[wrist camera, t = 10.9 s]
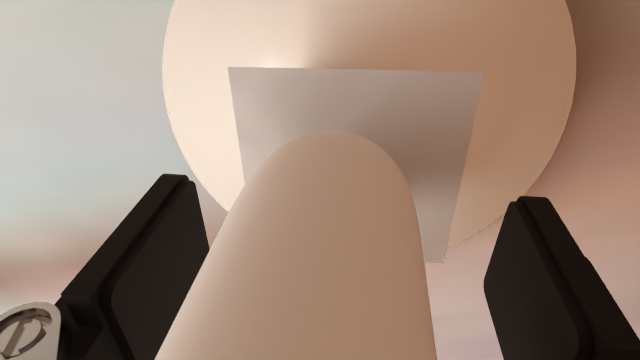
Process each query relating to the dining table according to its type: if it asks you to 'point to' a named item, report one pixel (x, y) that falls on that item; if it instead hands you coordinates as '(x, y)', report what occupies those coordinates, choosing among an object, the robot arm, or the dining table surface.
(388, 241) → the figurine
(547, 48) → the plate
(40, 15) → the dining table surface
